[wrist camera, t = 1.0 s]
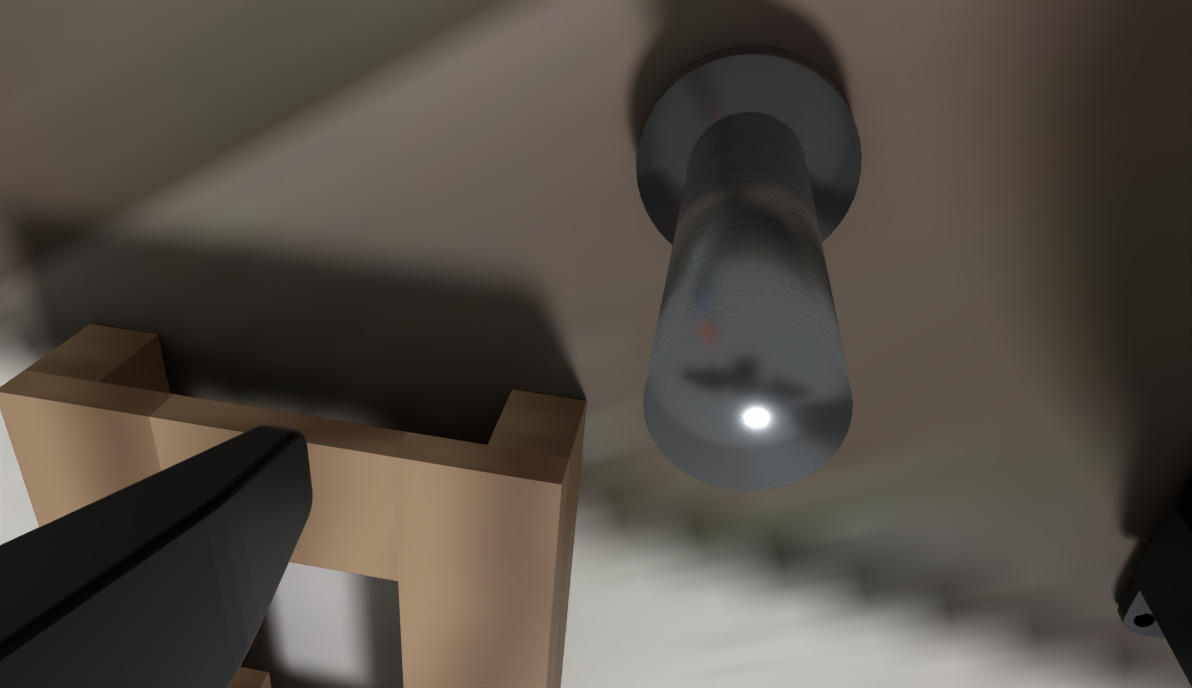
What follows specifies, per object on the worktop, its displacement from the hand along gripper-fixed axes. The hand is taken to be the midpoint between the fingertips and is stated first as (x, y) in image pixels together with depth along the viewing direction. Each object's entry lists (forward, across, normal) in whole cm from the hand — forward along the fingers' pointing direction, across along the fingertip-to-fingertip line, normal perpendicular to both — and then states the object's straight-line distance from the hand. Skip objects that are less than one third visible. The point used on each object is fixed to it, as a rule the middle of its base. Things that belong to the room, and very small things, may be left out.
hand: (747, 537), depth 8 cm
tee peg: (+12, 0, 0) cm, 12 cm away
